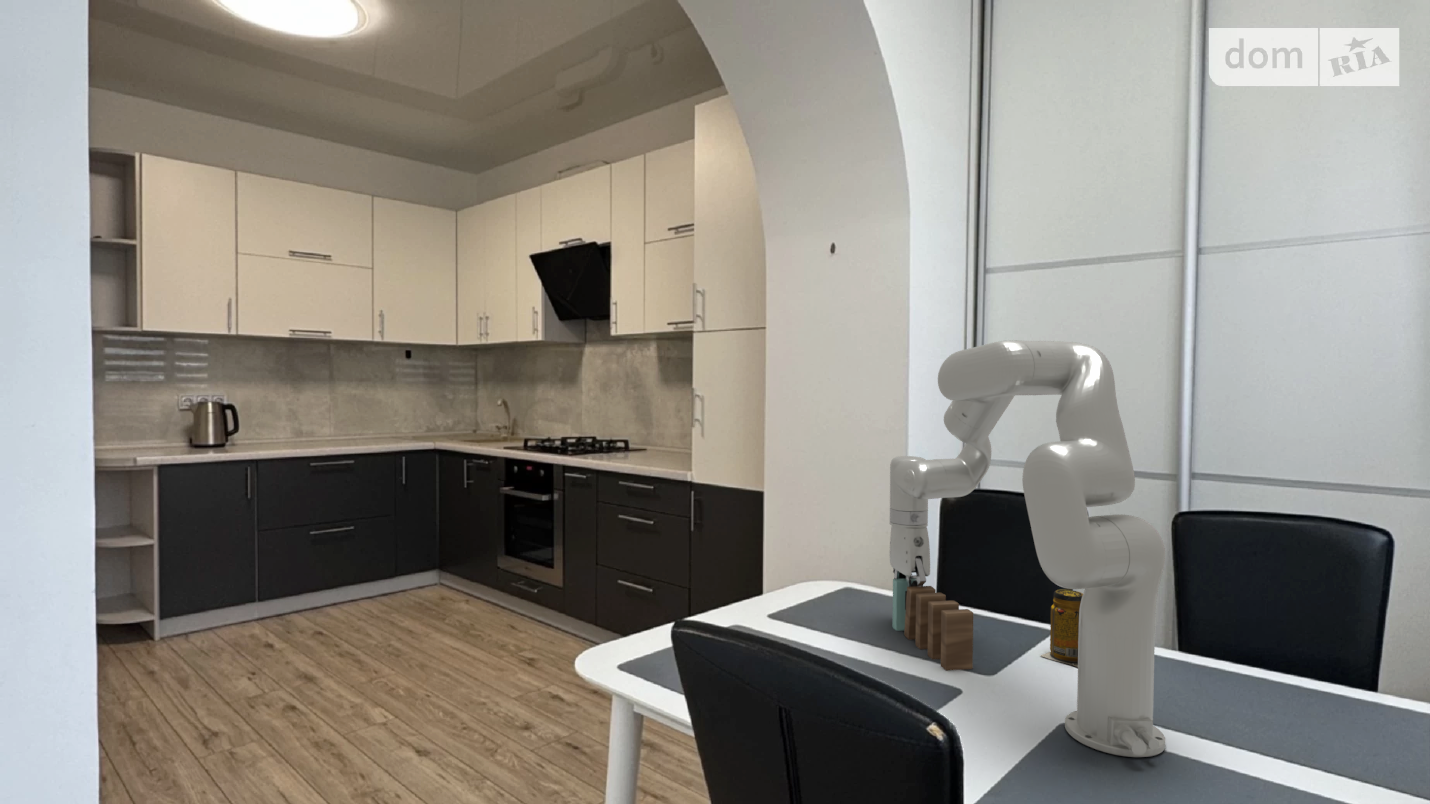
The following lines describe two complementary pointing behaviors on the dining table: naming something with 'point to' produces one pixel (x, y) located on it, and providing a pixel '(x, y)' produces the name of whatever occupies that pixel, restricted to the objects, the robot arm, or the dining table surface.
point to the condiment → (1065, 627)
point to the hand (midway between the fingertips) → (907, 605)
